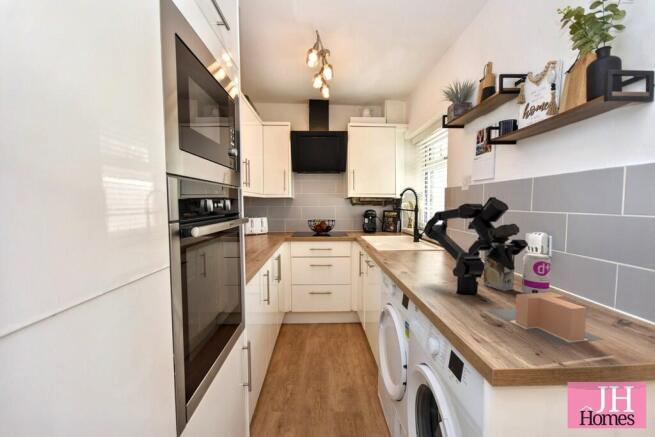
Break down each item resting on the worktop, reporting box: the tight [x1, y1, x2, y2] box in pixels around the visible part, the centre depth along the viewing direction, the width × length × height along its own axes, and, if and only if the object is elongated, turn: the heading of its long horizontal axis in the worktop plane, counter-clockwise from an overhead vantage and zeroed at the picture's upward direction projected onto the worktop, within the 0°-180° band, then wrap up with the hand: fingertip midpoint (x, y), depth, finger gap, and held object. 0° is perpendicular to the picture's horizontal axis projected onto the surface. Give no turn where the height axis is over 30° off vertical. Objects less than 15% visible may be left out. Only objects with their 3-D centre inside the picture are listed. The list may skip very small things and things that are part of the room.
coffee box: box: [483, 251, 516, 292], centre depth 111 cm, size 9×6×16 cm
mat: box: [485, 307, 605, 346], centre depth 76 cm, size 22×15×1 cm
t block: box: [515, 291, 587, 341], centre depth 72 cm, size 12×12×8 cm
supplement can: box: [521, 252, 552, 294], centre depth 103 cm, size 8×8×15 cm
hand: (512, 269), depth 84 cm, fingers closed
